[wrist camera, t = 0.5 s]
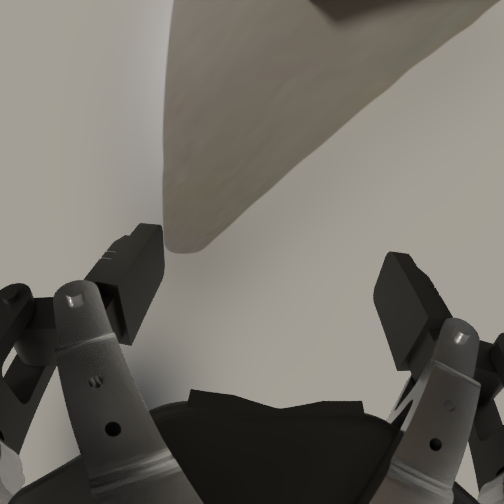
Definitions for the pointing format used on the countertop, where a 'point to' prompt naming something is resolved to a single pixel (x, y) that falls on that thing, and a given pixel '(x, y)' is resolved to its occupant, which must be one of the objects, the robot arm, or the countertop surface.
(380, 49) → the countertop surface
